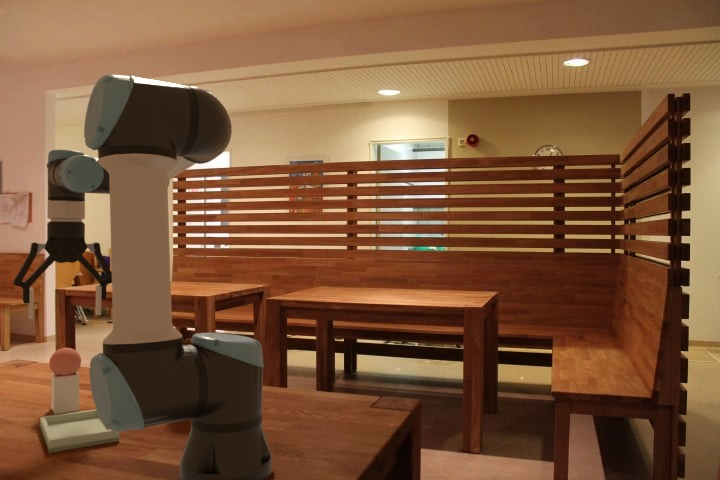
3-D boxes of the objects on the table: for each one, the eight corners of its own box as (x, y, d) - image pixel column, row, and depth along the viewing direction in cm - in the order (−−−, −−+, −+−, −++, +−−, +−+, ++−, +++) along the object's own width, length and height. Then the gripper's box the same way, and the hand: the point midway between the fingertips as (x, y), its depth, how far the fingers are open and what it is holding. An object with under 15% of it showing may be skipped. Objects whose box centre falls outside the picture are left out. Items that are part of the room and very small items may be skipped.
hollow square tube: (79, 410, 135) (79, 374, 135) (54, 414, 133) (54, 377, 133) (75, 405, 140) (75, 370, 140) (51, 408, 137) (51, 372, 137)
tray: (119, 441, 117) (119, 429, 117) (49, 452, 110) (49, 440, 110) (103, 418, 130) (103, 408, 130) (40, 427, 124) (40, 417, 124)
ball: (83, 377, 135) (83, 349, 135) (51, 381, 132) (51, 351, 132) (78, 372, 140) (78, 344, 140) (47, 375, 137) (47, 346, 137)
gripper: (121, 221, 145) (120, 310, 146) (0, 219, 132) (-1, 317, 132) (128, 221, 139) (128, 314, 139) (2, 219, 125) (1, 322, 126)
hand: (65, 316), depth 136 cm, fingers open, 13 cm apart
